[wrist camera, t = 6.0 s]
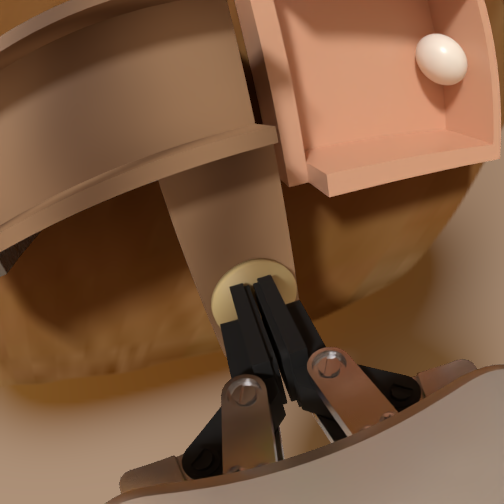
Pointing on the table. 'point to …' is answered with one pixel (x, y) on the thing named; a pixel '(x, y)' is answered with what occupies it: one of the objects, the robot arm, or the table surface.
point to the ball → (441, 59)
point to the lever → (144, 135)
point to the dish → (370, 89)
